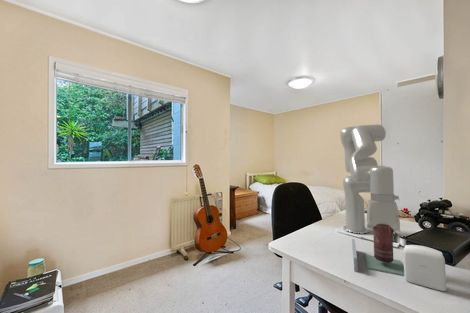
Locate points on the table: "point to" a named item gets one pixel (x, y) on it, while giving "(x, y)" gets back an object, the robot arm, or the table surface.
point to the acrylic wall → (354, 255)
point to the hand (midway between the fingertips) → (383, 245)
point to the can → (383, 243)
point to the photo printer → (424, 267)
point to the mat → (384, 265)
